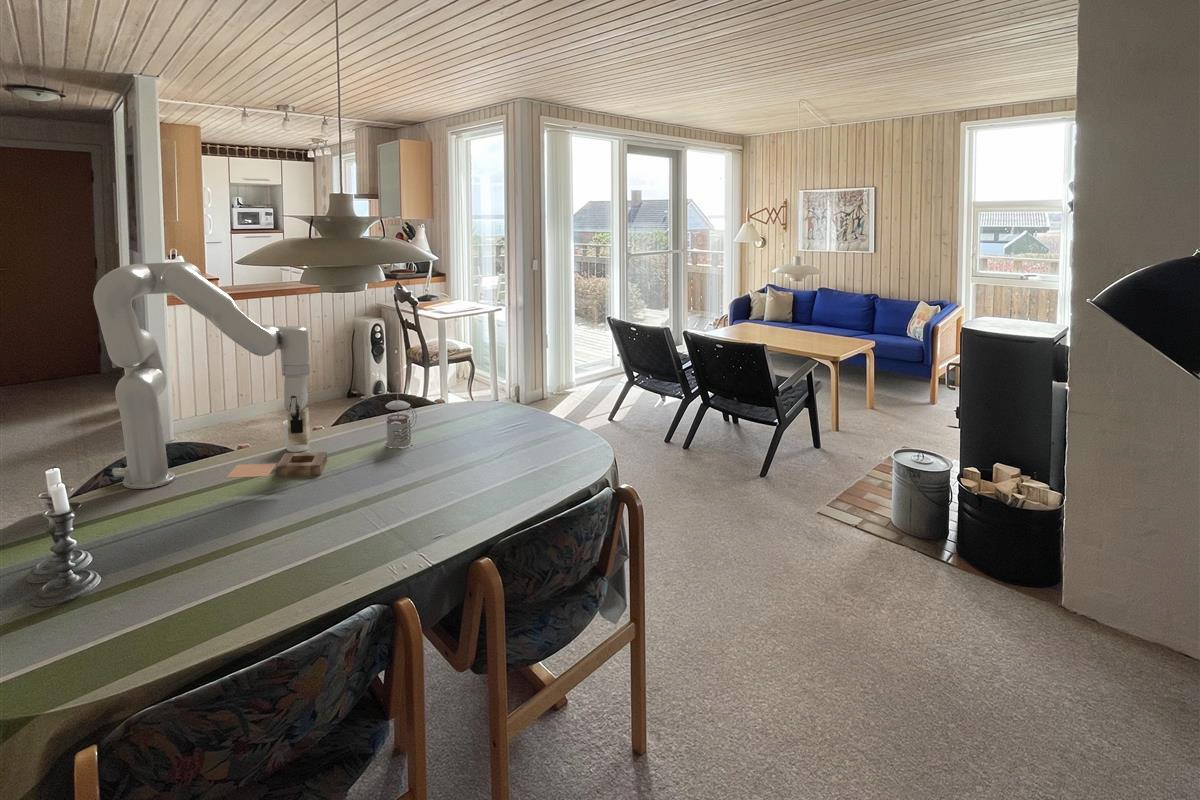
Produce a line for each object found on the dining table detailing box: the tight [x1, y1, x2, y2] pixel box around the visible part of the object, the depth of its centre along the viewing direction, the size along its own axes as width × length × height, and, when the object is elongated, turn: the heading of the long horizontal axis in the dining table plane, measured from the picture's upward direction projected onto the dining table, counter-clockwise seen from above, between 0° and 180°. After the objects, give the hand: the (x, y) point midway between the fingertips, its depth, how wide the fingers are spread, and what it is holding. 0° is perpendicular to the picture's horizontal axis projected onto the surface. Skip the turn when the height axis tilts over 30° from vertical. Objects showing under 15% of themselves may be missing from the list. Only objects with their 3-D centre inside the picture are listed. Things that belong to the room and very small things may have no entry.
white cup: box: [282, 419, 310, 453], centre depth 232 cm, size 8×8×10 cm
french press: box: [384, 371, 418, 448], centre depth 242 cm, size 10×12×25 cm
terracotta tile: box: [226, 462, 277, 479], centre depth 213 cm, size 11×11×1 cm
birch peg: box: [286, 406, 311, 445], centre depth 212 cm, size 5×5×10 cm
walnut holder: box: [275, 451, 328, 477], centre depth 215 cm, size 12×12×4 cm
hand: (298, 429), depth 212 cm, fingers closed on birch peg, 4 cm apart
